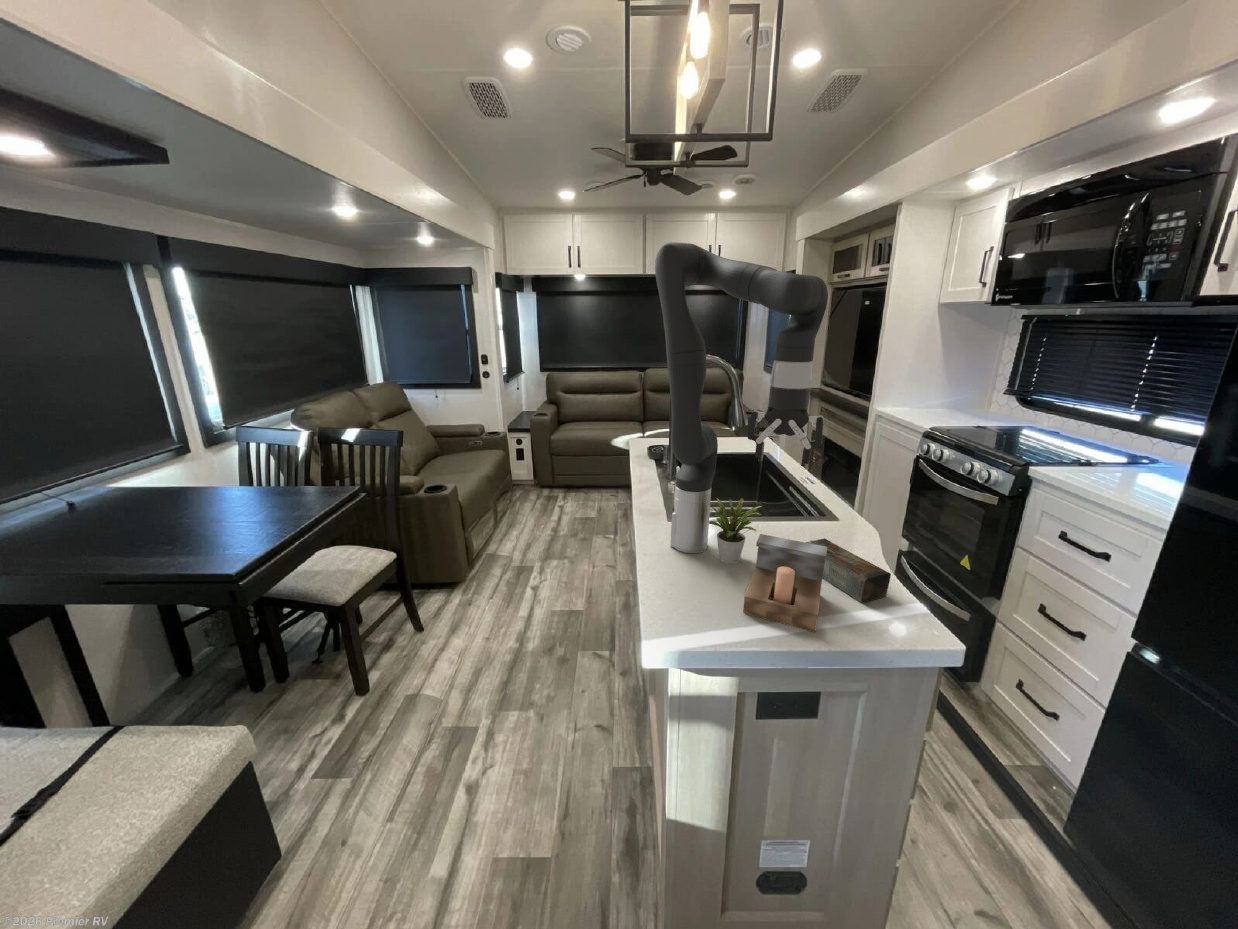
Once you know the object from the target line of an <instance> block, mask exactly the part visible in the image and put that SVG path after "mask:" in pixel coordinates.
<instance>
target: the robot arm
mask: <svg viewBox="0 0 1238 929" xmlns="http://www.w3.org/2000/svg"><path fill="white" fill-rule="evenodd" d="M654 263H655V264H654V270H655V271H654V273H655V280H656V286H657V289H658V290H657V291H658V296H659V302H660V306H661V312H662V320H663V329H664V336H665V338H664V339H665V350H666V362H667V363H666V364H667V372H668V380H669V392H670V403H671V448H672V452H673V454H674V456H675V458H676V459H677V461H678V462H679V463H681V466H680V468H679V470H678V472H677V474H675V475H676V476H675V488H674V510H673V512H672V513H671V521H670V522H671V524H670V547H671V548H674V549H676V550H677V551H679V552H682V553H685V554H699V553H702V552H705V551H706V550H707V549H708V541H709V527H710V524H709V523H708V522H710V514H711V513H710V512H711V510H710V509H711V497H712V482H713V480H714V477H715V474H716V468H717V460H718V459H717V458H718V448H719V447H718V446H719V444H718V436H717V433H716V431H715V430H714V429H713V428H712V427H711V426H710V425H708V424H706V423H702V420H701V402H702V401H701V400H702V396H703V391H704V388H705V383H706V378H707V371H708V370H707V368H708V367H707V356H706V355H707V354H706V344H705V340H704V338H703V335H702V333H701V330H700V329H699V327H698V325H697V324H696V322H695V320H694V318H693V316H692V315H691V312H690V310H689V306H688V302H687V296H686V287H692V286H709V287H713V288H717V289H720V290H722V291H723V292H724V293H726V294H727V295H729V296H731V297H733V298H736V299H739V300H743V301H746V302H749V303H752V304H757V305H761V306H763V307H765V308H767V309H769V310H771V311H774V312H775V313H776V312H777V313H779V314H783V315H788V316H789V320H788V323H787V326H786V327H785V328H783V329H782V330H780V331H779V332H778V334H777V335H776V341H775V349H774V350H775V351H774V361H773V365H772V369H771V374H770V380H769V395H768V402H767V410H766V411H760V410H758V409H754V410H753V411H752V412H751V413H750V418H749V425H748V431H747V439H748V440H750V441H753V442H754V443H755V453H754V454H755V455H754V456H755V458H756V459H757V461H758V462H762V461H763V459H764V453H765V451H764V450H765V442H764V441H765V440H766V438H768V437H769V436H770V435H771V434H772V433H774V434H775V435H781V436H782V435H784V436H788V437H789V436H790V437H793V436H796V437H797V438H798V440H799V441H800V442H801V444H802V445H803V451H802V455H801V464H800V466H801V467H805V466H806V465H808V464H809V463H810V461H811V453H812V449H814V448H820V447H821V446H822V445H823V435H824V424H825V423H824V422H825V416H824V415H822V414H819V415H818V416H817V415H816V416H813V415H809V413H808V410H809V402H810V395H811V387H812V380H813V361H814V354H815V347H816V346H815V345H816V344H815V343H816V338H817V334H818V332H819V331H820V327H821V324H822V322H823V318H824V316H825V313H826V309H827V305H828V301H829V300H828V299H829V292H828V287H827V286H828V285H827V284H826V282H825V281H824V280H823V278H821V277H819V276H818V275H817V276H816V275H808V274H799V273H793V272H787V271H781V270H777V269H776V268H773V267H771V266H767V265H762V264H758V263H753V262H749V261H742V260H736V259H735V260H734V259H731V258H730V259H729V258H726V257H723V256H720V255H718V254H715V253H714V252H711V251H709V250H707V249H705V248H704V247H701V246H699V245H696V244H694V243H689V242H688V243H687V242H675V241H669V242H665V243H663V244H662V245H661V246H660V247H659V248H658V249H657V252H656V255H655V260H654ZM763 418H764V420H765V421H766V423H767V425H768V426H767V427H766V428H765V430H764V431H763V432H761V433H760V434H758V433H757V427H758V423H760V422H761V421H762V419H763ZM809 422H810V423H811V426H812V427H813V428H815V435H814V438H815V439H813V440H812V439H810V437H809V436H808V433H807V432H806V430H805V429H804V427H805V426H806V425H807V424H808V423H809Z"/></svg>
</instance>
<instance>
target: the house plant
mask: <svg viewBox="0 0 1238 929" xmlns="http://www.w3.org/2000/svg"><path fill="white" fill-rule="evenodd" d="M716 500H717V503H718V506H719V508H720V512H719V511H718V509H716V508H715V507H713V506H711V508H712V509H713V510H714V511H715V513H716V514H717V516H719V517H716V521H717V522H716V521H714V520H709V522H708V523H709V525H713V526H716V527H719V528H721V531H718V533H717V534H716V538H717V549H718V557H719V559H720V560H721V562H724V563H728V564H736V563H738V562H740V559H741V556H742V553H743V549H744V546H745V542H746V536H745V533H746V531H744V532H743V533H742V532H740V531H742V530H746V529H747V532H748V531H754V532H755V533H756V534H757V531H758V530H757V529H755V528H754V527H752V526H749V525H750V524H753V523H752V522H754V520H755V519H756V517H750V518H748V517H749V516H751V515H759V516H760V515H763V514H761V513H758V511H759V508H762V507H763V505H758V506H756V507H755V506H754V507H753V508H750V509H749V510H747V511H743V512H742V509H743V503H744V498H743V497H741V498H740V499H739V502H738V503H737V505H736V507H735V509H734V505H733V502H732V500H731V498H730V497H729V506H730V509H729V508H728V509H726V507H725V505H724V503H722V501H721V499H719V498H718V497H716ZM727 510H729V512H730V516H729V518H728V513H727ZM756 511H757V512H756ZM741 515H742V516H741ZM739 516H741V517H740V518H739Z"/></svg>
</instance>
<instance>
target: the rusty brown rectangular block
mask: <svg viewBox="0 0 1238 929" xmlns="http://www.w3.org/2000/svg"><path fill="white" fill-rule="evenodd" d="M805 543H810V544H815V545H820V546H825V547H827V553H826V561H825V565H824V571H823V577H822V580H823V579H824V580H825V581H826V582H828V583H830V584H831V585H833V586H835V587H836V588H837V589H839V590H840V591H842V592H844V593H846V594H848V595H849V596H850V597H852V598H853V599H855V600H856V601H858V602H860V603H861V604H863V603H867V602H870V601H873V600H878V599H882V598H885V597H886V596H887V594H888V589H889V586H890V582H891V577H892V573H891V572H889V571H887V570H885V569H883V568H881V567H880V566H877V565H875V564H873V563H872V562H871V561H868V560H866V559H864V558H862V557H860V556H858V555H856V554H854V553H852V552H850V551H848V550H846V549H845V548H844V547H841V546H840V545H838V544H836V543H834V542H832V541H831V540H829V539H827V538H820V539H815V540H812V539H811V540H808V541H805Z"/></svg>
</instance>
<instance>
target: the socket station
mask: <svg viewBox="0 0 1238 929" xmlns="http://www.w3.org/2000/svg"><path fill="white" fill-rule="evenodd" d="M756 540H757V541H756V544H755V546H756V547H757V556H756V566H755V568H754V571H753V574H752V576H751V579H750V582H749V584H748V586H747V589H746V591H745V594H744V600H743V610H742V613H743V614H747V615H749V616H754V617H757V618H761V619H765V620H768V621H773V622H776V623H780V624H784V625H787V626H790V627H794V628H798V629H802V630H805V631H809V632H813V633H815V632H816V630H817V622H818V618H819V609H820V607H819V606H820V602H821V601H820V599H821V591H822V584H823V578H822V577H823V571H824V565H825V561H826V553H827V547H825V546H820V545H815V544H810V543H805V542H806V541H805V542H804V541H799V540H793V539H788V538H785V537H779V536H773V535H767V534H762V533H760V534H759V535H758V538H757V539H756ZM779 567H789V568H792V569H793V570H794V571H795V577H794V584H793V591H792V599H791V605H788V604H784V603H780V602H776V601H773V600H774V592H775V584H776V576H777V569H778V568H779ZM792 604H793V605H792Z"/></svg>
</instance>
